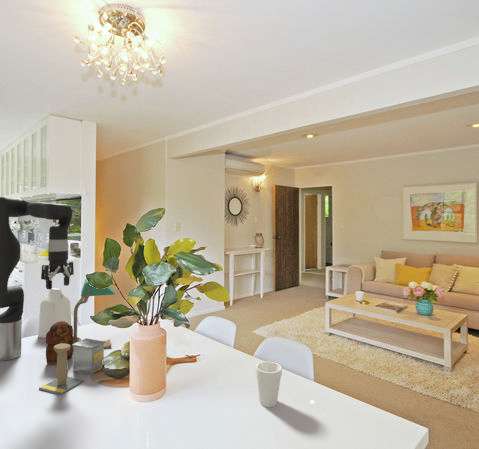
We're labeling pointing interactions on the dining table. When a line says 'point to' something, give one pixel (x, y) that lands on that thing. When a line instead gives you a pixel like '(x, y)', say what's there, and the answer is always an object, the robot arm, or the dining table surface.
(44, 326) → the milk
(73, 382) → the mat
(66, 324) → the wooden figurine
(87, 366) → the tin
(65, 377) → the handle
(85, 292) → the banker's lamp
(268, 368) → the foam cup
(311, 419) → the dining table surface
